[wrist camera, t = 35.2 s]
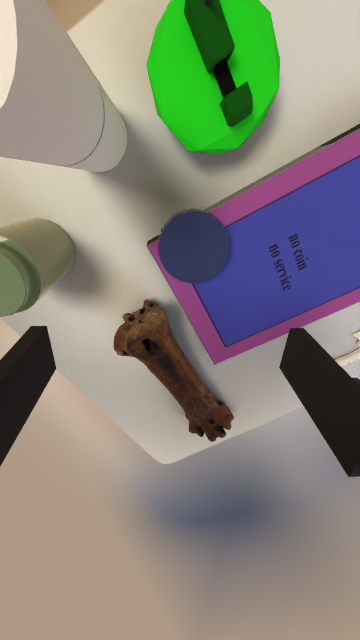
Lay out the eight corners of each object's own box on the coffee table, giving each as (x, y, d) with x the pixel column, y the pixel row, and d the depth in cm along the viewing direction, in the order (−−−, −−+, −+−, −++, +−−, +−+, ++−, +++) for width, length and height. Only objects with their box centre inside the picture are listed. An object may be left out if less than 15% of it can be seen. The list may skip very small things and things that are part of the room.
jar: (20, 278, 36) (-46, 321, 25) (5, 217, 33) (-81, 235, 21) (79, 279, 37) (40, 323, 25) (71, 219, 33) (20, 238, 22)
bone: (202, 465, 46) (100, 346, 31) (192, 427, 53) (105, 315, 39) (247, 443, 45) (164, 311, 31) (231, 407, 52) (157, 286, 38)
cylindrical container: (71, 174, 31) (-163, 152, 9) (54, 97, 28) (-398, -251, 5) (131, 169, 31) (48, 136, 9) (121, 92, 28) (-55, -271, 6)
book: (146, 245, 32) (396, 108, 27) (148, 240, 35) (375, 114, 30) (214, 364, 41) (411, 279, 36) (211, 353, 44) (394, 272, 39)
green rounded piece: (129, 65, 27) (109, -4, 17) (232, -18, 24) (278, -152, 15) (187, 179, 32) (196, 178, 22) (277, 120, 29) (332, 89, 20)
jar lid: (215, 282, 35) (218, 288, 33) (153, 270, 34) (152, 276, 32) (234, 217, 31) (239, 219, 29) (165, 201, 30) (165, 202, 28)
